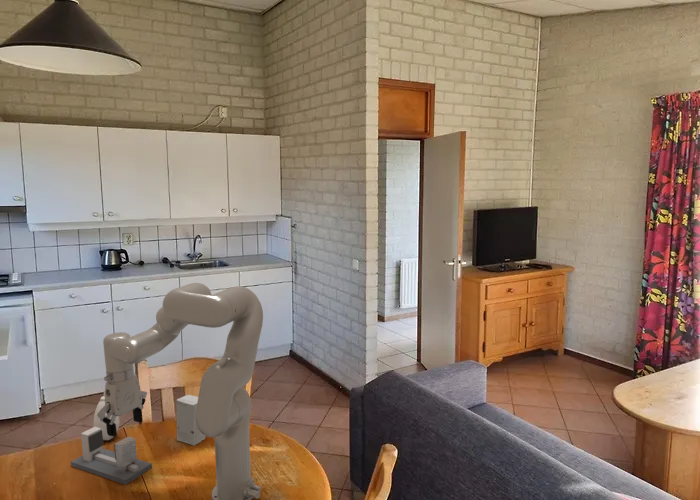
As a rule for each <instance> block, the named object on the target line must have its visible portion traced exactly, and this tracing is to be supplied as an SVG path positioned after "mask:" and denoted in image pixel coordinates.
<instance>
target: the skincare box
mask: <svg viewBox="0 0 700 500" xmlns="http://www.w3.org/2000/svg"><path fill="white" fill-rule="evenodd" d="M197 402H198V395H196V396H195V395H191V394H186V395H184V396H181V397H180V398H179V397H178V398H177V399H176V440H177V441H178V442H182V443H186V444H188V445H191V446H196V445H197V444H199V443H201V442H203V441H204V440H206V439H205V438H206V436H205V435H203V434H202V433H201V432H200V430H199V429H198V427H197V424H196V408H197ZM202 440H203V441H202Z"/></svg>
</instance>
